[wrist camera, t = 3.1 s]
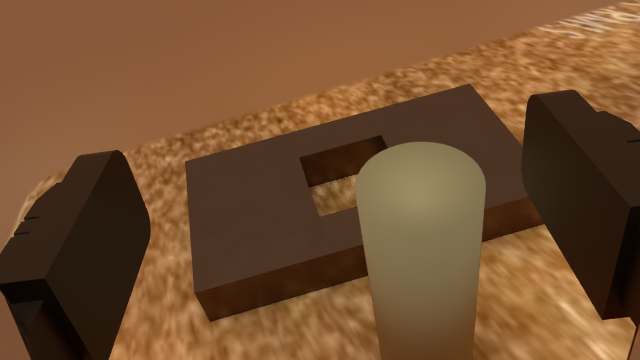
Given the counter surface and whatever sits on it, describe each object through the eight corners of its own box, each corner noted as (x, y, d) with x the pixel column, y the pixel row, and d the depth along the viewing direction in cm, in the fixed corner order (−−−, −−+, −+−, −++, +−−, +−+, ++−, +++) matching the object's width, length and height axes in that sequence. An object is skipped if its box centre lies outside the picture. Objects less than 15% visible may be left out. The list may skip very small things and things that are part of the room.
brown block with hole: (468, 115, 42) (469, 83, 40) (550, 221, 34) (557, 188, 32) (197, 190, 41) (185, 161, 39) (210, 321, 32) (194, 293, 30)
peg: (481, 355, 28) (502, 157, 19) (452, 432, 26) (459, 249, 16) (404, 324, 30) (386, 131, 21) (370, 393, 28) (332, 210, 18)
